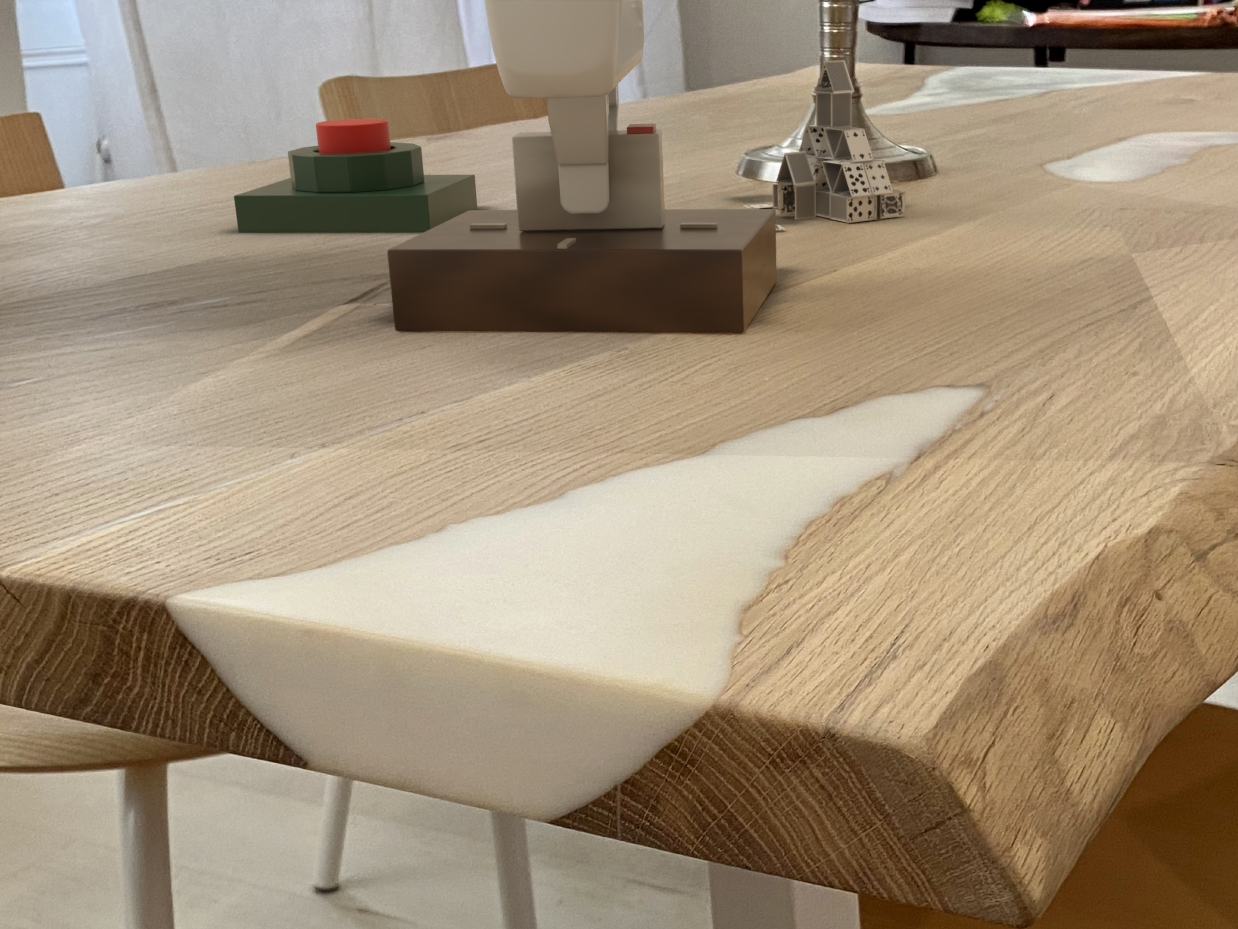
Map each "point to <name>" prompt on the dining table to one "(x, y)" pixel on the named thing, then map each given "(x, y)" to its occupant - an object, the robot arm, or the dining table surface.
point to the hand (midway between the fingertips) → (590, 205)
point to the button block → (356, 194)
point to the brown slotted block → (586, 275)
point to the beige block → (630, 178)
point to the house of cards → (834, 164)
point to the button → (353, 136)
